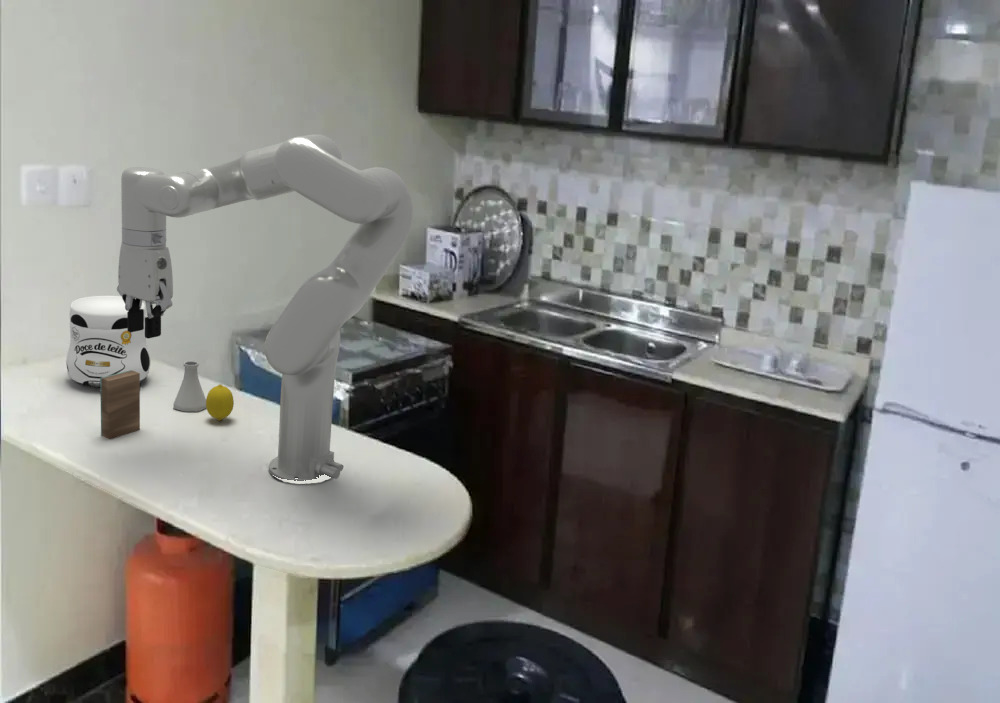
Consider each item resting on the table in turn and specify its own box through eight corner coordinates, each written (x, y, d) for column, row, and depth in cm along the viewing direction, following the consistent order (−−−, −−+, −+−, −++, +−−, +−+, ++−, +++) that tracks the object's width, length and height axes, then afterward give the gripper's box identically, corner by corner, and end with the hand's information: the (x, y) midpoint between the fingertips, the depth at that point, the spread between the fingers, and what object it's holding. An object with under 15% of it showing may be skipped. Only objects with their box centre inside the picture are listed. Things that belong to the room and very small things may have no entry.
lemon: (200, 421, 193) (200, 385, 190) (216, 413, 198) (217, 378, 196) (222, 427, 191) (223, 391, 189) (238, 419, 196) (239, 383, 194)
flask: (201, 414, 197) (202, 370, 194) (167, 410, 197) (167, 366, 194) (212, 402, 204) (213, 359, 201) (179, 399, 204) (180, 355, 201)
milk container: (83, 399, 197) (81, 318, 192) (55, 374, 209) (53, 297, 204) (162, 387, 209) (163, 310, 204) (132, 364, 221) (132, 291, 215)
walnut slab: (139, 429, 186) (139, 373, 182) (109, 439, 180) (108, 381, 176) (131, 426, 187) (131, 370, 183) (101, 435, 181) (100, 377, 178)
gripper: (192, 244, 167) (191, 340, 173) (131, 227, 175) (131, 320, 181) (158, 248, 161) (157, 348, 167) (96, 230, 169) (97, 327, 174)
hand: (144, 332), depth 174 cm, fingers open, 4 cm apart
